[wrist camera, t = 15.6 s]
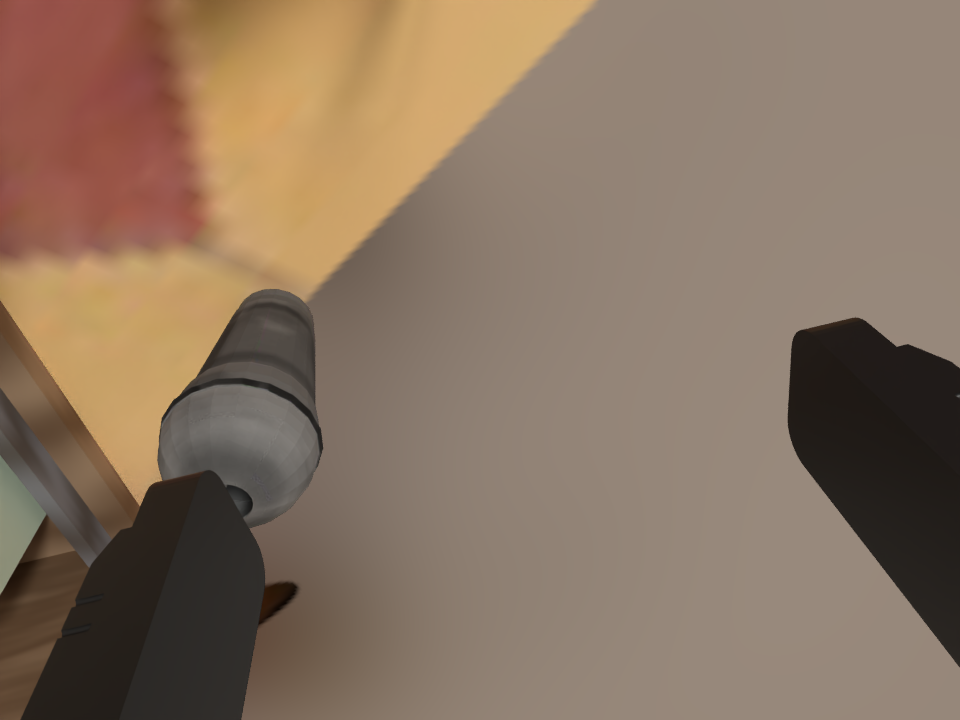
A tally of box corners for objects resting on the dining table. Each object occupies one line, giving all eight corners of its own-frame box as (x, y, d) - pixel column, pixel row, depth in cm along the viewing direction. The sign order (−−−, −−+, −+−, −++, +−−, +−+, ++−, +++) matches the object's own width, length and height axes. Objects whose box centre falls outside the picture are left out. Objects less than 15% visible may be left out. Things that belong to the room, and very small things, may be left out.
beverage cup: (260, 390, 44) (183, 678, 27) (185, 301, 40) (43, 574, 23) (359, 342, 43) (343, 610, 26) (292, 246, 39) (224, 489, 22)
